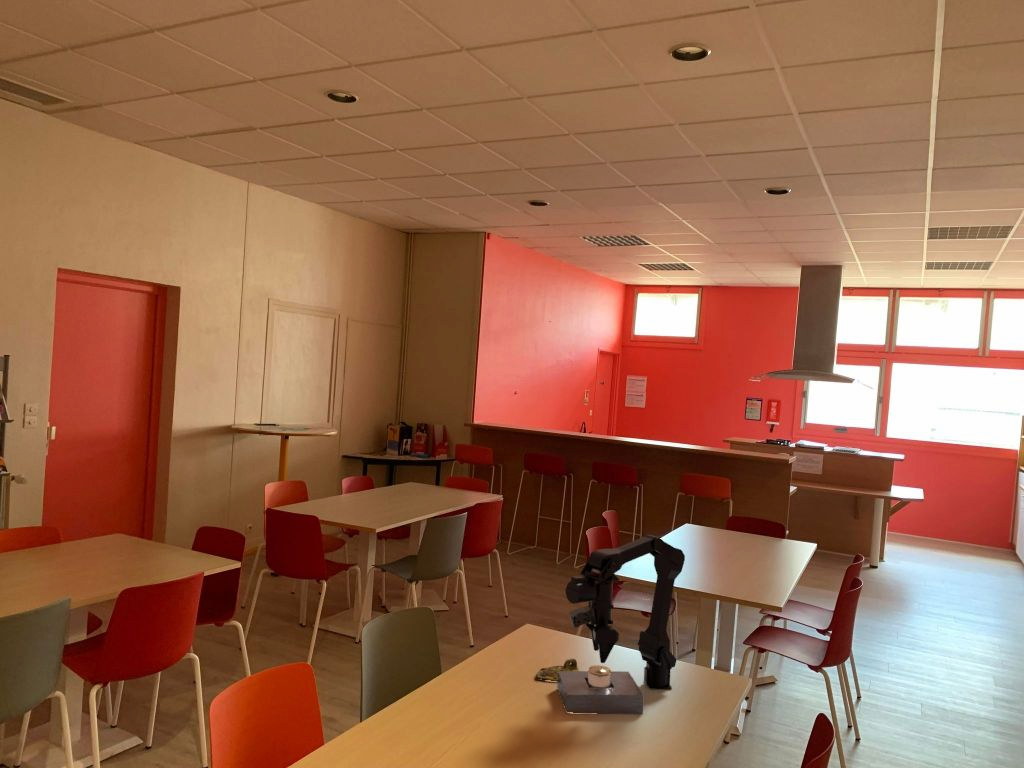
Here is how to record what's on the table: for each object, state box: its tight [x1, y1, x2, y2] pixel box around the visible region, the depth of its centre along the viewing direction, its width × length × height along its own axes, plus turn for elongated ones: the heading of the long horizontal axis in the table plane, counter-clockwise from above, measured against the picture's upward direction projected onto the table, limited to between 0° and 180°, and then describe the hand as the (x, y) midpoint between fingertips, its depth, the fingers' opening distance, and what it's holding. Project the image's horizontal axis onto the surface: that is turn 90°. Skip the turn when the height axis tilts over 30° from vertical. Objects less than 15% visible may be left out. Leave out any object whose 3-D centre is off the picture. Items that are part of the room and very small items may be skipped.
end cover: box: [588, 664, 612, 688], centre depth 202 cm, size 6×6×8 cm
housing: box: [556, 670, 644, 715], centre depth 202 cm, size 20×16×5 cm
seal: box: [535, 658, 579, 681], centre depth 219 cm, size 9×5×15 cm
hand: (599, 656), depth 203 cm, fingers open, 9 cm apart
